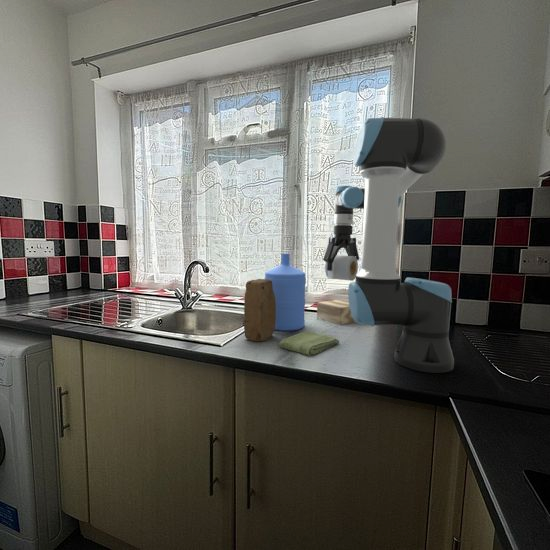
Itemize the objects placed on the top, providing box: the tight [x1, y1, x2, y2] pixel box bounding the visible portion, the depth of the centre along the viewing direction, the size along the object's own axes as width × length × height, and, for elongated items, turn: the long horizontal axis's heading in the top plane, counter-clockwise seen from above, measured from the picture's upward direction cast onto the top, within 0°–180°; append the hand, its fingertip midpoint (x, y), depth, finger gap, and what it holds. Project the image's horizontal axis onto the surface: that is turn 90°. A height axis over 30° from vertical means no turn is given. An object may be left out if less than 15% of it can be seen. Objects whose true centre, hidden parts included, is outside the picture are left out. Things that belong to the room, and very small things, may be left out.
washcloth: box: [278, 330, 340, 357], centre depth 106 cm, size 13×18×3 cm
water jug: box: [264, 253, 307, 332], centre depth 128 cm, size 16×16×28 cm
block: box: [243, 278, 276, 342], centre depth 112 cm, size 11×8×20 cm
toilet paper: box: [324, 254, 359, 282], centre depth 139 cm, size 10×10×10 cm
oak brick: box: [316, 299, 355, 325], centre depth 142 cm, size 13×13×7 cm
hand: (341, 277), depth 139 cm, fingers closed on toilet paper, 11 cm apart
